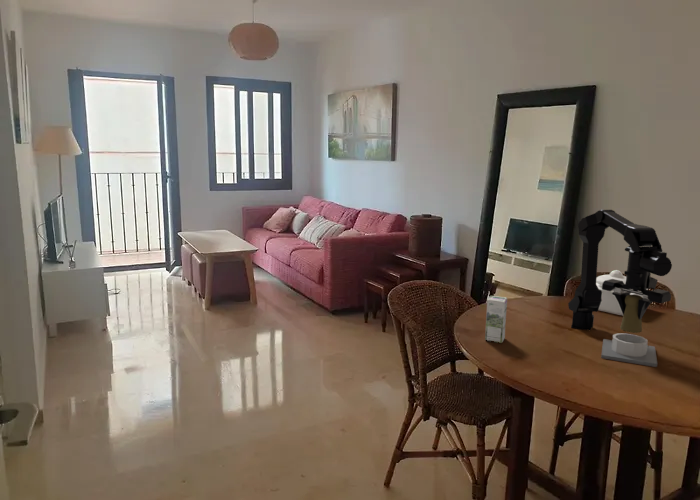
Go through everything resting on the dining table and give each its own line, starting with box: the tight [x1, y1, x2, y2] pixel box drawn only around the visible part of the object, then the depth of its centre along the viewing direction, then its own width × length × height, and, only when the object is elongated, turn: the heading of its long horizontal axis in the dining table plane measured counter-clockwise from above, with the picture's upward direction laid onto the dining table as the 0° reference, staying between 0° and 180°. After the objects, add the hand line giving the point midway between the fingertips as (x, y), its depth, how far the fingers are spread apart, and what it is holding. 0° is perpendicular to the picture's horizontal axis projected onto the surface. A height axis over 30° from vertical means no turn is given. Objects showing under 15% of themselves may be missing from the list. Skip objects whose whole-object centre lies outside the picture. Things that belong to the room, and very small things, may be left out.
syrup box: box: [484, 295, 508, 344], centre depth 179 cm, size 6×6×14 cm
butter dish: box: [596, 269, 649, 317], centre depth 217 cm, size 18×18×16 cm
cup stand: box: [600, 332, 658, 368], centre depth 169 cm, size 15×16×5 cm
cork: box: [619, 295, 643, 334], centre depth 167 cm, size 6×6×11 cm
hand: (632, 317), depth 167 cm, fingers closed on cork, 4 cm apart
